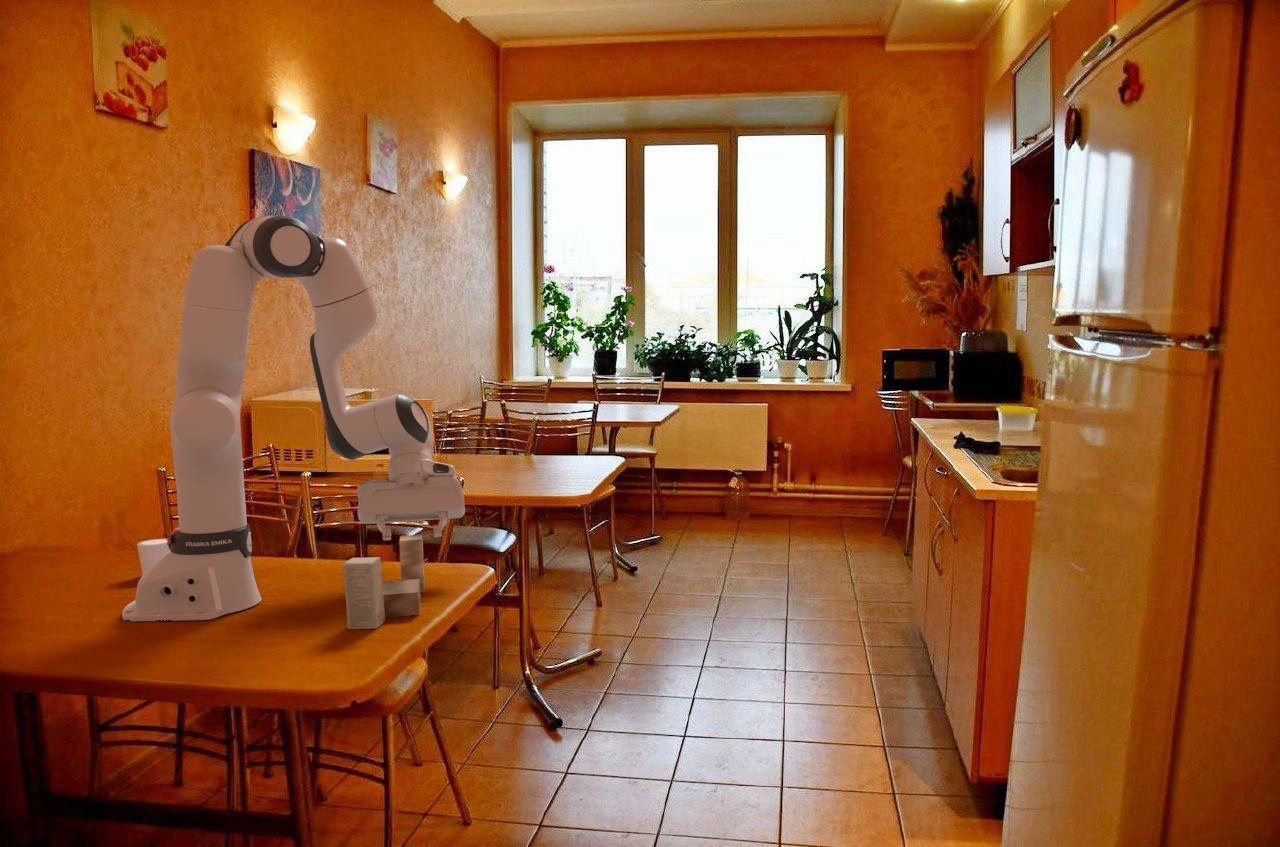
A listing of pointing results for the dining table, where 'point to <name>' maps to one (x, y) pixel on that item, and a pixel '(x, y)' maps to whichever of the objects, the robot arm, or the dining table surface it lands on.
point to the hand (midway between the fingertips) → (412, 537)
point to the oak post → (412, 558)
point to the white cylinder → (152, 552)
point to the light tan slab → (401, 597)
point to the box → (364, 593)
